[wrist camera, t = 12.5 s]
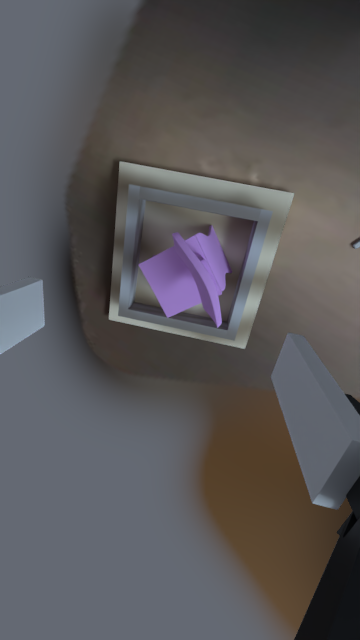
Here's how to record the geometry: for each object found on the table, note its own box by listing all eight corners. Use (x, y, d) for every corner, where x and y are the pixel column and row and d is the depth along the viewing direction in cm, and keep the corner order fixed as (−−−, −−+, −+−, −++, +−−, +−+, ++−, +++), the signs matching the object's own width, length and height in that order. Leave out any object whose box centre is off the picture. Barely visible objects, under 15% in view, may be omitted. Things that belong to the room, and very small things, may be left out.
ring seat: (122, 162, 30) (109, 155, 26) (291, 194, 29) (303, 190, 25) (111, 316, 38) (100, 327, 34) (244, 345, 37) (247, 359, 33)
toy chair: (145, 250, 32) (94, 275, 18) (208, 216, 30) (203, 216, 16) (175, 306, 35) (149, 365, 21) (235, 279, 32) (251, 325, 18)
